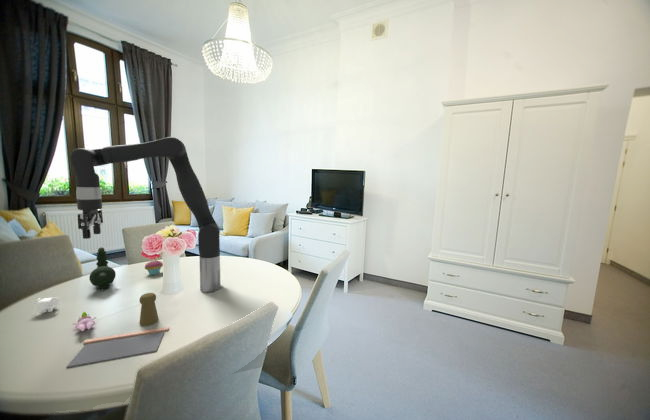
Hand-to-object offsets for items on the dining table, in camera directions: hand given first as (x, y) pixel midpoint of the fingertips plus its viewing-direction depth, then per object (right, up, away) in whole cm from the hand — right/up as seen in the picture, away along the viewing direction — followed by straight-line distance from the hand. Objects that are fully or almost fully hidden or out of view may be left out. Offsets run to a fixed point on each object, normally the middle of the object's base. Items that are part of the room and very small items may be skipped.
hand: (92, 236), depth 104 cm
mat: (+32, -34, -25) cm, 53 cm away
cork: (+31, -32, -9) cm, 45 cm away
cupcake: (+1, -25, +36) cm, 44 cm away
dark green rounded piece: (-13, -27, +19) cm, 36 cm away
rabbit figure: (+11, -32, -15) cm, 37 cm away
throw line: (+30, -33, -18) cm, 48 cm away
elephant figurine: (-13, -30, -5) cm, 33 cm away
